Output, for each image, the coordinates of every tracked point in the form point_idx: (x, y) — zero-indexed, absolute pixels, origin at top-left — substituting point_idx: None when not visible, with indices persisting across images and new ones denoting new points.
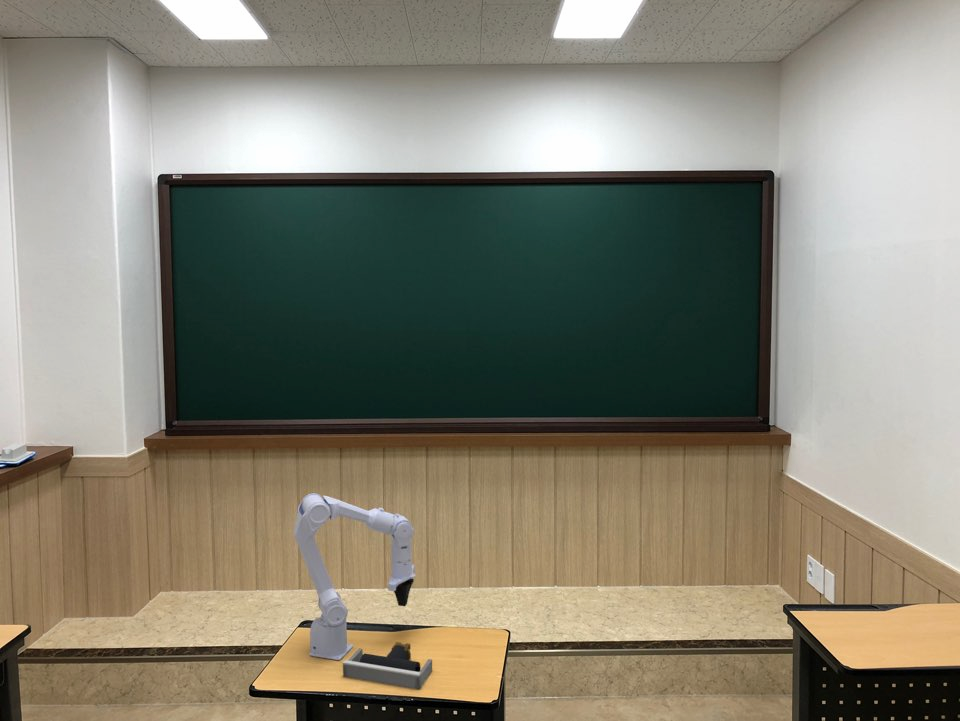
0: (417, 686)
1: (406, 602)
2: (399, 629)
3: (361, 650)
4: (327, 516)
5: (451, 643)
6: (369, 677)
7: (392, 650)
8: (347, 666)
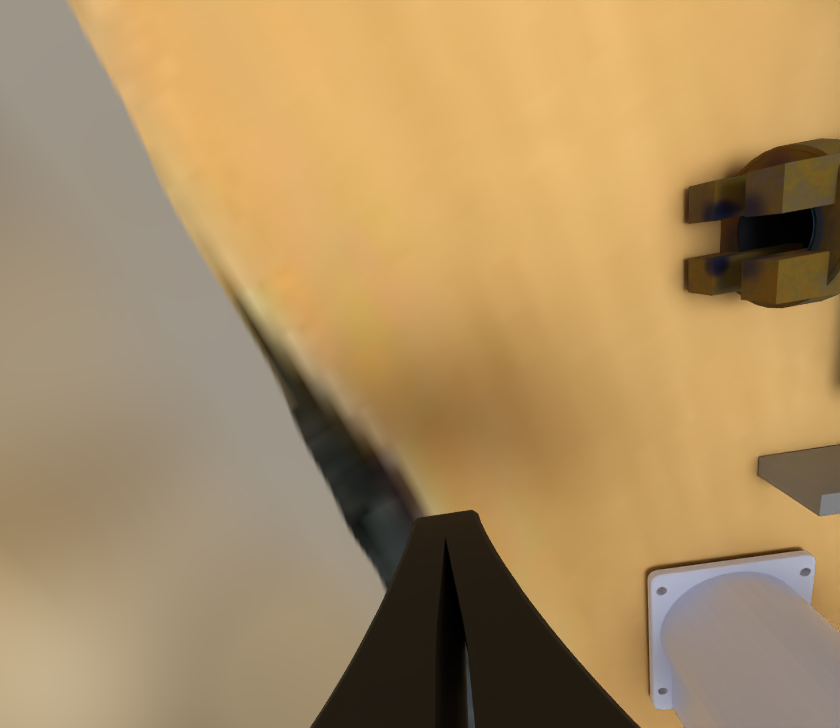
0: None
1: (446, 532)
2: (370, 464)
3: (834, 490)
4: None
5: (363, 14)
6: None
7: None
8: None
